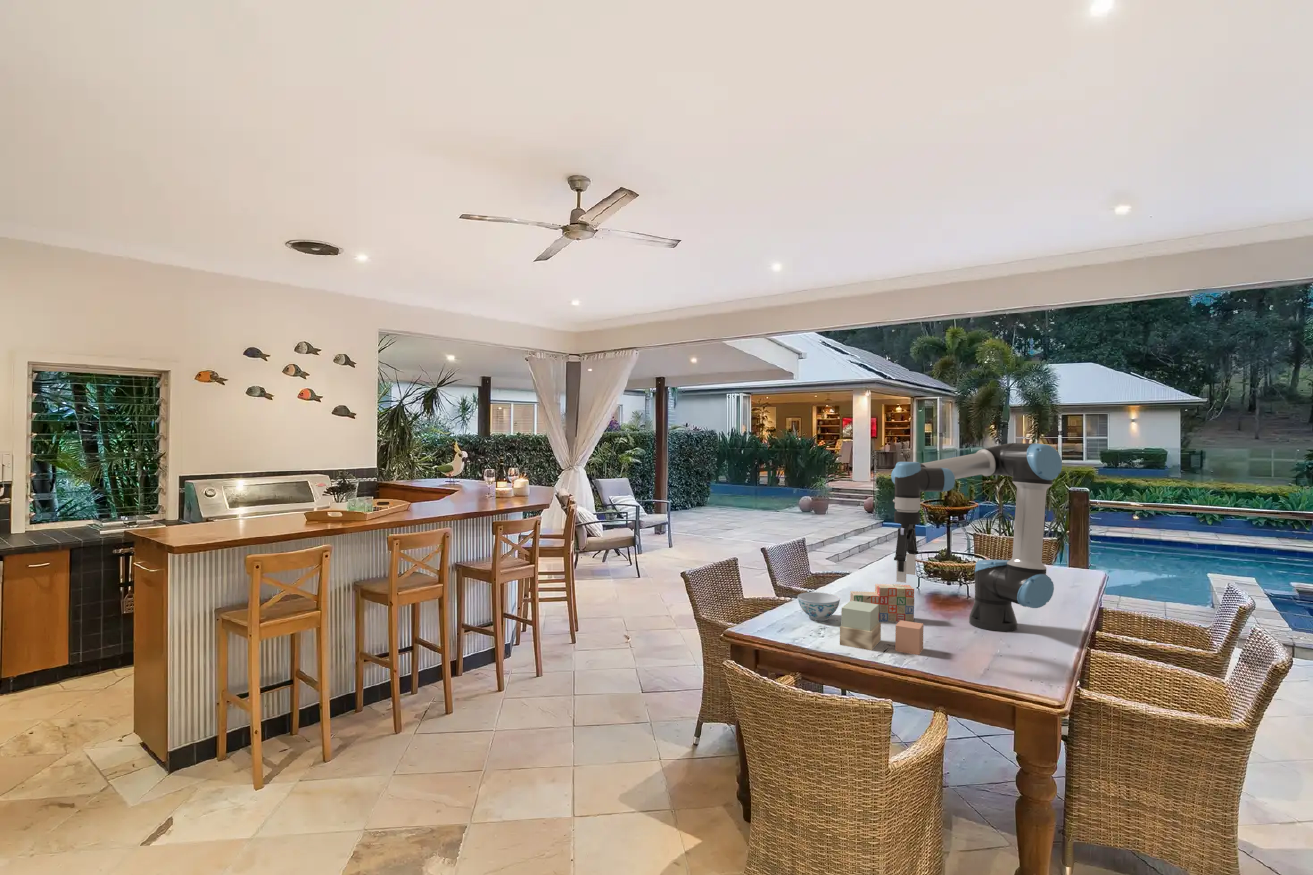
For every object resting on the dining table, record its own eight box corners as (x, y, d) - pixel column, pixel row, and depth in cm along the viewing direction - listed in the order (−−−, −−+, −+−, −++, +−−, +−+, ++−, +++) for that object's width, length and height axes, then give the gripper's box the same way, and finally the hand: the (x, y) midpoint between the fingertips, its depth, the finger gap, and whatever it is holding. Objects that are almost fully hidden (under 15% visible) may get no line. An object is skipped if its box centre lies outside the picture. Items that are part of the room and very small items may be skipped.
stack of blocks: (853, 620, 238) (853, 586, 238) (849, 615, 244) (850, 582, 244) (914, 622, 236) (914, 588, 236) (909, 617, 242) (909, 584, 242)
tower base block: (880, 641, 215) (880, 622, 215) (871, 651, 205) (871, 632, 205) (849, 635, 221) (850, 618, 221) (839, 645, 210) (839, 626, 210)
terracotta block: (923, 648, 207) (923, 623, 207) (919, 655, 201) (919, 629, 201) (899, 645, 211) (900, 620, 211) (895, 651, 205) (895, 625, 205)
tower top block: (878, 622, 215) (878, 604, 215) (870, 631, 206) (870, 612, 206) (850, 618, 220) (850, 600, 220) (841, 626, 211) (841, 607, 211)
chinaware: (823, 611, 250) (823, 590, 250) (848, 621, 236) (848, 600, 236) (789, 614, 245) (789, 594, 245) (813, 626, 231) (813, 604, 231)
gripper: (903, 506, 220) (902, 569, 220) (885, 513, 199) (884, 583, 199) (927, 508, 216) (926, 572, 216) (911, 515, 195) (910, 587, 195)
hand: (906, 578), depth 207 cm, fingers open, 13 cm apart
